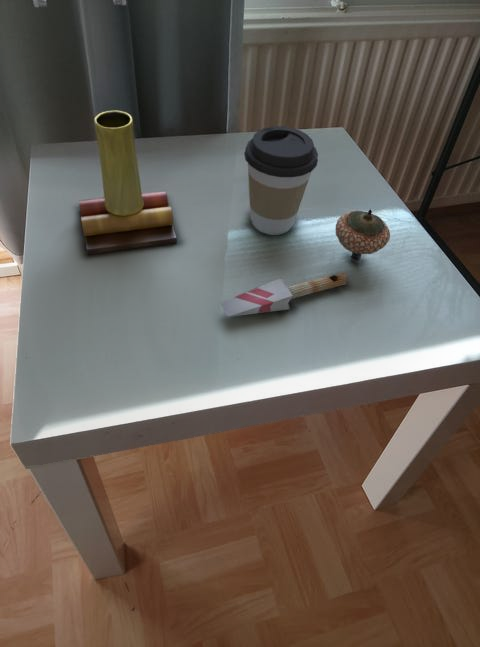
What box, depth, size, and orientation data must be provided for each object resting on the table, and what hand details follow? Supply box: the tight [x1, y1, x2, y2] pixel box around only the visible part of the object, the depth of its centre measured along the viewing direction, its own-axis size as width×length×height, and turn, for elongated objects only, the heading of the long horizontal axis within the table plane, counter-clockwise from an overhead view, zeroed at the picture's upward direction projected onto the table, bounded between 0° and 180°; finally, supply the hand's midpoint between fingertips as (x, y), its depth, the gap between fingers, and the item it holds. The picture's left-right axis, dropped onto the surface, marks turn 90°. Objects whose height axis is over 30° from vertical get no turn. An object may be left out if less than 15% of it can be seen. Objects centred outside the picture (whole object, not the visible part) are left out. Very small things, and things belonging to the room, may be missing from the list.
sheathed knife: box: [219, 272, 348, 318], centre depth 73 cm, size 4×3×20 cm
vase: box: [93, 110, 144, 216], centre depth 75 cm, size 6×6×14 cm
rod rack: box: [78, 190, 178, 255], centre depth 82 cm, size 14×12×4 cm
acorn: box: [335, 208, 391, 262], centre depth 78 cm, size 8×8×10 cm
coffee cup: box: [243, 125, 319, 236], centre depth 81 cm, size 11×11×15 cm
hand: (81, 4), depth 62 cm, fingers open, 8 cm apart
